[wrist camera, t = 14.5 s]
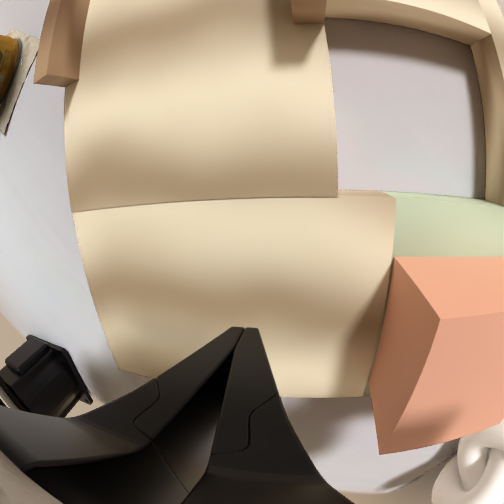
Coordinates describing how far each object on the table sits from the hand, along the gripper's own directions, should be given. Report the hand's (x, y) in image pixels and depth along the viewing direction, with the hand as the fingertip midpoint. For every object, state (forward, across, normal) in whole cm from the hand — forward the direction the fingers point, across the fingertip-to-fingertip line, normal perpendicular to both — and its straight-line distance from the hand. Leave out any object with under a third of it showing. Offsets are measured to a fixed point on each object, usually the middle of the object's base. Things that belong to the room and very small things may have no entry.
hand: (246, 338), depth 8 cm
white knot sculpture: (+4, -21, +16) cm, 26 cm away
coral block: (+2, -8, +1) cm, 8 cm away
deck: (+4, -2, -6) cm, 7 cm away
